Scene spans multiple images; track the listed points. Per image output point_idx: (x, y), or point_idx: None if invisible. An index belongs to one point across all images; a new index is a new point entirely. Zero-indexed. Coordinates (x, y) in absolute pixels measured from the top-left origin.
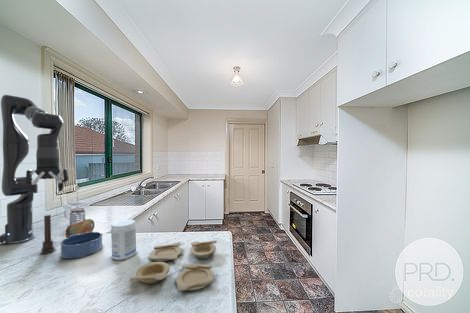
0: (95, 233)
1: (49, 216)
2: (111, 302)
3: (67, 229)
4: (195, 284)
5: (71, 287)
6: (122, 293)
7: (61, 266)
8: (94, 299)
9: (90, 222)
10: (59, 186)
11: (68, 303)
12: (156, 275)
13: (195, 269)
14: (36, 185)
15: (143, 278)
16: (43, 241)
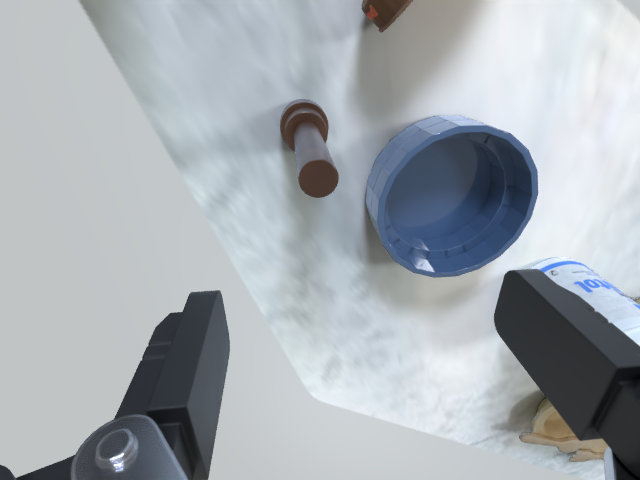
0: (514, 148)
1: (332, 186)
2: (474, 436)
3: (381, 2)
4: (601, 458)
5: (413, 380)
6: (494, 423)
7: (379, 280)
8: (451, 423)
9: None
10: (551, 386)
11: (412, 419)
12: (564, 444)
13: None
14: (204, 434)
15: (541, 443)
16: (287, 130)
